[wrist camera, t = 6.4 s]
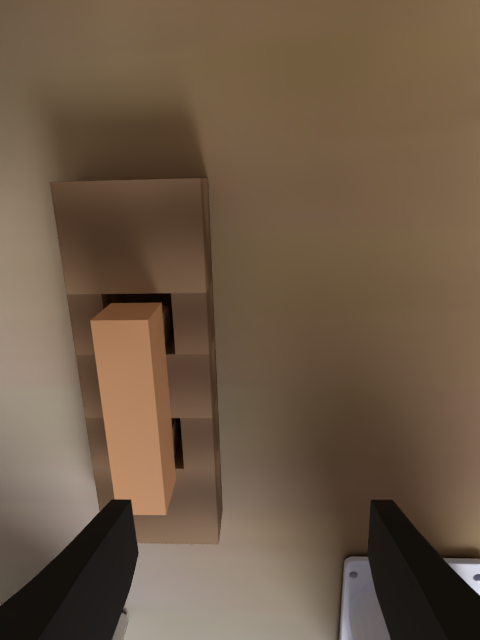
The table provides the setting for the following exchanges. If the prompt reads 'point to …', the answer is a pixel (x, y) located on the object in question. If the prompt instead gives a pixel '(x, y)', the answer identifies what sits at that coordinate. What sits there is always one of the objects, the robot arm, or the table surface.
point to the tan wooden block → (137, 402)
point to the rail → (181, 348)
